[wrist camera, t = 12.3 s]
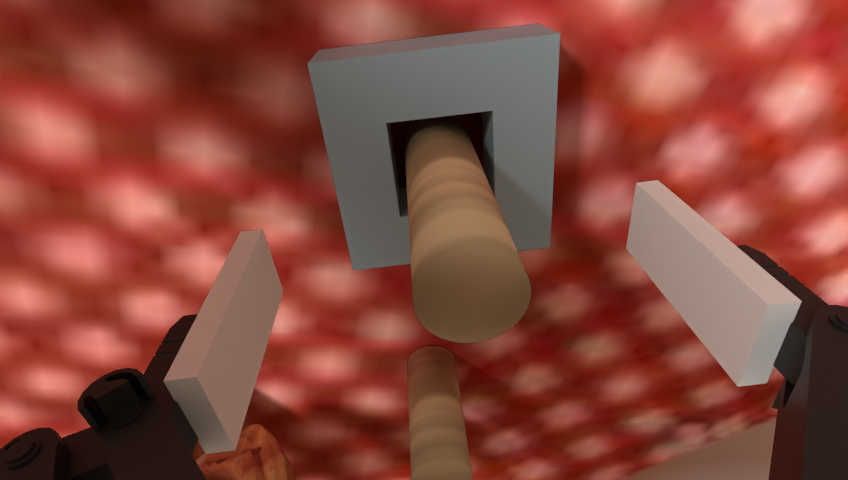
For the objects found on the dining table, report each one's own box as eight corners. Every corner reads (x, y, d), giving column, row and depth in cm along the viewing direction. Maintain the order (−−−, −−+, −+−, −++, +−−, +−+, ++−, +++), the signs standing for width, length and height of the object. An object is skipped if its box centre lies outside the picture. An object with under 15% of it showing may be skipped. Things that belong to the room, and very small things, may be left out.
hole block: (318, 49, 23) (307, 63, 20) (538, 23, 23) (560, 33, 20) (357, 237, 29) (353, 270, 26) (533, 216, 29) (550, 247, 26)
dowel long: (400, 114, 25) (405, 256, 13) (466, 106, 25) (532, 241, 13) (408, 176, 27) (419, 349, 15) (470, 168, 27) (530, 336, 15)
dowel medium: (403, 349, 34) (406, 465, 26) (452, 342, 34) (469, 457, 26) (411, 382, 36) (416, 499, 28) (457, 375, 36) (474, 491, 28)
